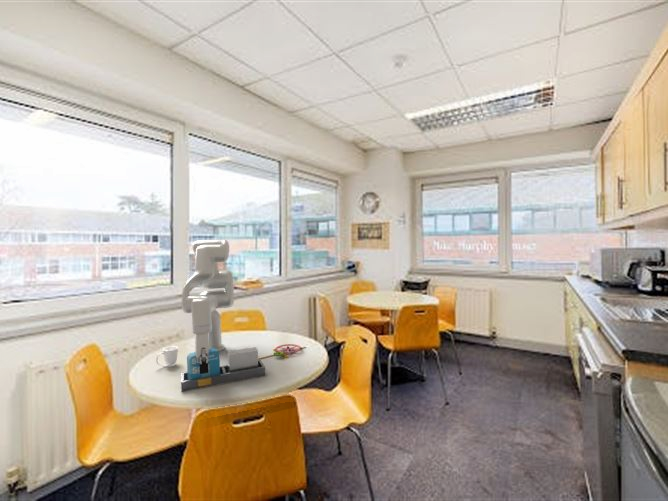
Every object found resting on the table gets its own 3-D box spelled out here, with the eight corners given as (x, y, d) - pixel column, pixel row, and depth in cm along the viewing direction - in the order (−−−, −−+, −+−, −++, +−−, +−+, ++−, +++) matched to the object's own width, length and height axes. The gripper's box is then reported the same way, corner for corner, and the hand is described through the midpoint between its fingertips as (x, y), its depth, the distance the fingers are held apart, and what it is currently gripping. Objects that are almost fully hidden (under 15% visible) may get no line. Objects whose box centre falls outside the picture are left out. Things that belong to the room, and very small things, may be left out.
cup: (181, 364, 161) (181, 348, 161) (159, 371, 154) (158, 353, 153) (175, 361, 166) (174, 344, 166) (153, 367, 159) (153, 350, 158)
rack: (181, 381, 142) (180, 356, 142) (260, 367, 156) (260, 344, 155) (181, 392, 133) (180, 365, 132) (265, 376, 146) (265, 351, 146)
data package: (190, 386, 136) (189, 356, 136) (187, 382, 140) (186, 353, 139) (220, 378, 143) (219, 350, 143) (217, 374, 147) (216, 347, 146)
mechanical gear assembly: (313, 351, 177) (298, 345, 189) (312, 344, 177) (297, 338, 188) (259, 366, 158) (247, 358, 170) (259, 357, 158) (246, 350, 170)
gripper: (191, 324, 146) (193, 363, 147) (192, 335, 131) (194, 378, 131) (210, 322, 149) (211, 360, 150) (213, 332, 134) (214, 374, 135)
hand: (203, 368), depth 141 cm, fingers open, 9 cm apart
